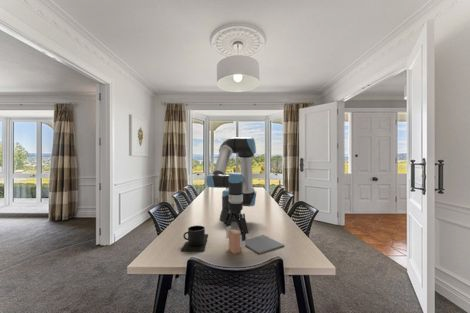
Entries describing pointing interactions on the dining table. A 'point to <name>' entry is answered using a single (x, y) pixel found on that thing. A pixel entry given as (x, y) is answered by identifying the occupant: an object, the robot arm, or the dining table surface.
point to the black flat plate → (194, 249)
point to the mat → (262, 244)
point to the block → (234, 241)
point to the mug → (195, 236)
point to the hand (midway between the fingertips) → (235, 242)
